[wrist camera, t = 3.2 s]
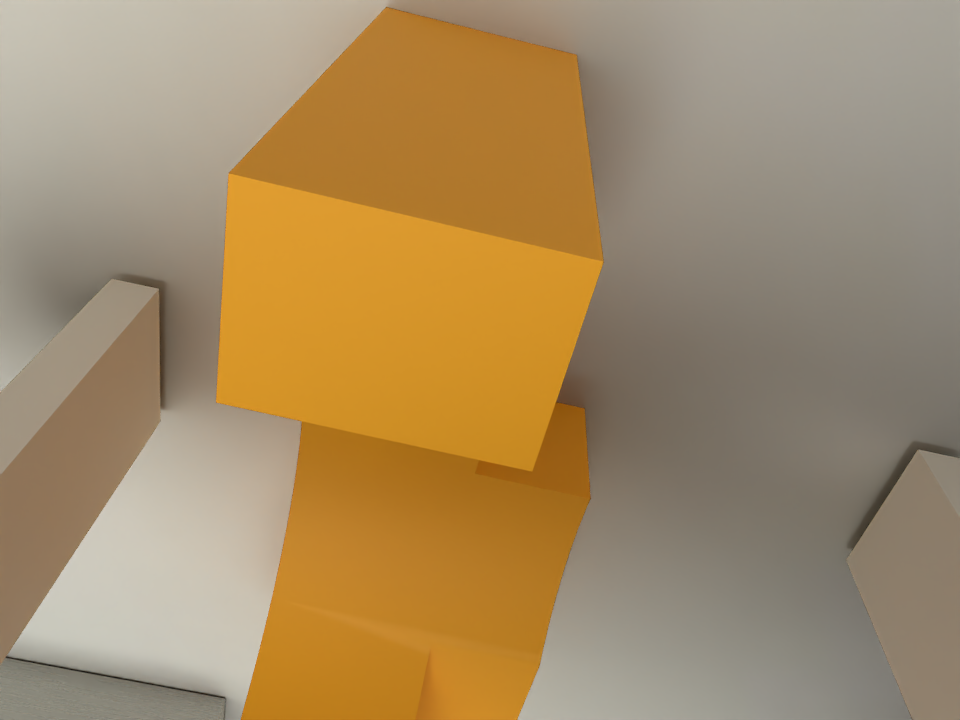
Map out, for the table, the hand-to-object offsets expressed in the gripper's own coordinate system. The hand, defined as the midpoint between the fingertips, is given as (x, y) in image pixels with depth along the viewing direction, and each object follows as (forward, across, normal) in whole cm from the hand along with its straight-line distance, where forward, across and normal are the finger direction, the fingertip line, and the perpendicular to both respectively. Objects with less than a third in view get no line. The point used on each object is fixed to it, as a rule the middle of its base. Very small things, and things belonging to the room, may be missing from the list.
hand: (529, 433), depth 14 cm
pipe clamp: (+1, +1, 0) cm, 1 cm away
